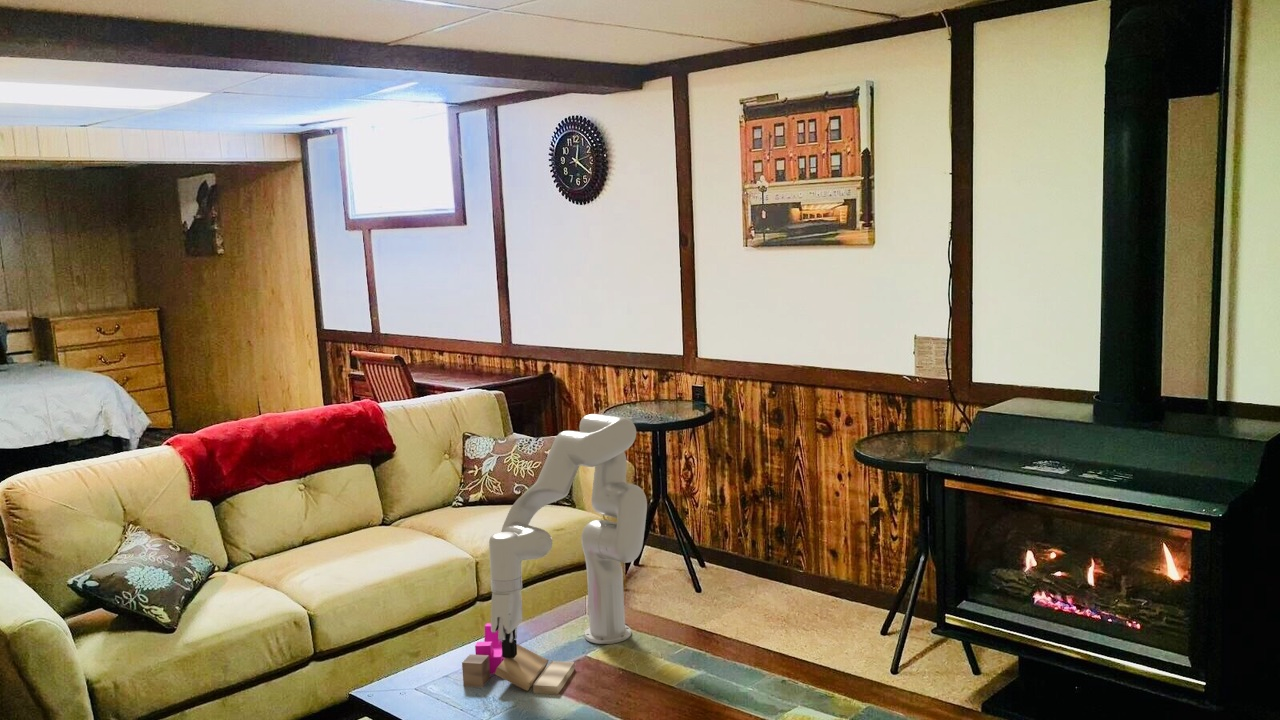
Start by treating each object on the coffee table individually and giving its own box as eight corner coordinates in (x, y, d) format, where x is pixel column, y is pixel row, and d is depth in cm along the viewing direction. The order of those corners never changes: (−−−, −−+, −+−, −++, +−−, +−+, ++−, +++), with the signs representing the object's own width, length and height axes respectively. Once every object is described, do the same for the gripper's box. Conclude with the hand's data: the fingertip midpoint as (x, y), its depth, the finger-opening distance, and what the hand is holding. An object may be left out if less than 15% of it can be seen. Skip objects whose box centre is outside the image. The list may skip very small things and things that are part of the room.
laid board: (551, 668, 257) (551, 660, 257) (574, 669, 256) (574, 661, 256) (533, 693, 244) (533, 684, 244) (557, 694, 242) (557, 686, 242)
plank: (514, 650, 259) (517, 643, 259) (546, 666, 258) (548, 660, 257) (494, 673, 246) (497, 666, 245) (527, 691, 244) (530, 684, 244)
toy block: (501, 674, 256) (500, 645, 255) (477, 674, 256) (475, 646, 255) (511, 649, 271) (509, 622, 270) (488, 650, 271) (486, 623, 270)
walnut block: (471, 677, 254) (469, 654, 254) (490, 678, 253) (488, 655, 253) (463, 686, 250) (461, 662, 249) (482, 687, 248) (481, 663, 248)
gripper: (503, 573, 258) (506, 643, 260) (480, 592, 243) (483, 667, 245) (531, 574, 256) (534, 645, 258) (510, 594, 241) (513, 669, 243)
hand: (509, 656), depth 251 cm, fingers closed
